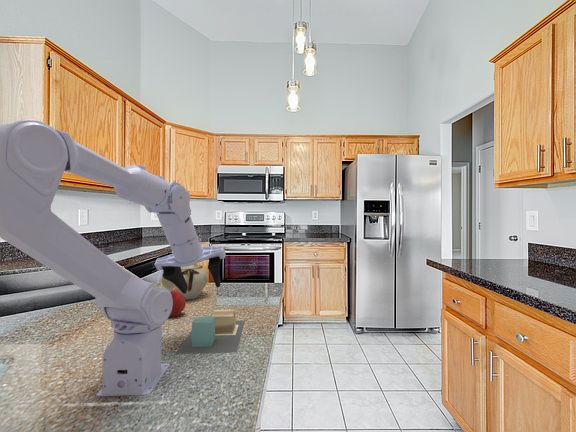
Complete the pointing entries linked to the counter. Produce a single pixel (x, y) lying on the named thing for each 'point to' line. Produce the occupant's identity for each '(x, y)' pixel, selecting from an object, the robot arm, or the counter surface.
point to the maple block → (224, 321)
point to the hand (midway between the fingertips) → (202, 287)
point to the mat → (215, 342)
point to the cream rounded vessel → (190, 281)
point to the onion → (177, 303)
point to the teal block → (203, 331)
